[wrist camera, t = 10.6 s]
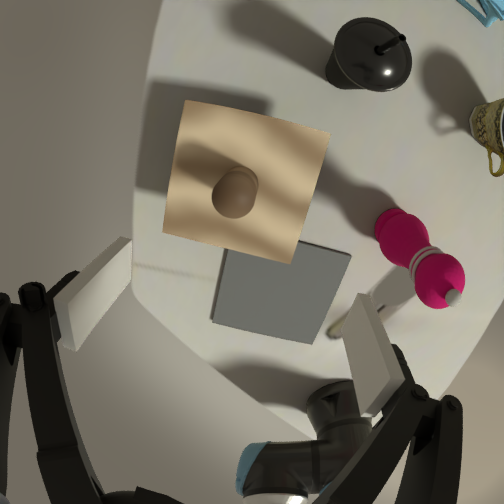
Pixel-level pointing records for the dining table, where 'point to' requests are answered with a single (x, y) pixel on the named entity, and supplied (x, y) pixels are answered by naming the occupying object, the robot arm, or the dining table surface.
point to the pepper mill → (420, 259)
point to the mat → (280, 292)
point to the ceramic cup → (490, 130)
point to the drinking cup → (369, 56)
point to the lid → (242, 180)
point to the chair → (487, 10)
